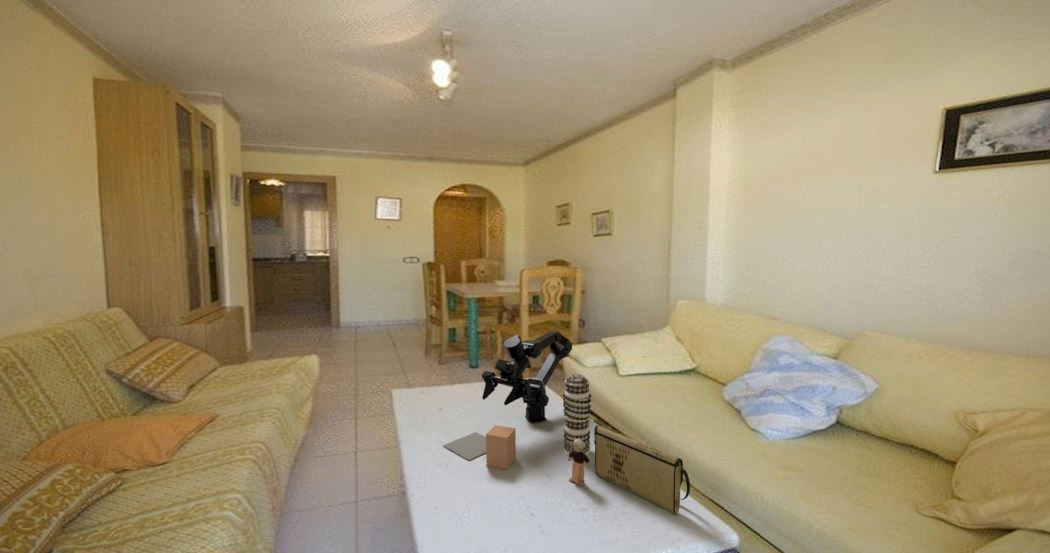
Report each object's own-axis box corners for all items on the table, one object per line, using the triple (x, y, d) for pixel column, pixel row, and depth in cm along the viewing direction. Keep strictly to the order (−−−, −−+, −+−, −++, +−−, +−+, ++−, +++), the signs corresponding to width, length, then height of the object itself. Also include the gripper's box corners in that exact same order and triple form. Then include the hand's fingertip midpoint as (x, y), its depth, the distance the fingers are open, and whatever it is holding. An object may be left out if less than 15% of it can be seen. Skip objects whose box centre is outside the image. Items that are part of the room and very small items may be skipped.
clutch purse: (694, 509, 113) (696, 453, 112) (680, 520, 109) (682, 462, 107) (603, 465, 136) (603, 418, 134) (588, 473, 131) (588, 424, 130)
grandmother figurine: (563, 482, 126) (563, 439, 125) (568, 475, 130) (568, 434, 128) (589, 489, 123) (589, 445, 121) (593, 482, 126) (594, 439, 125)
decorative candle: (590, 459, 139) (590, 382, 137) (561, 456, 141) (561, 380, 138) (591, 446, 148) (592, 373, 146) (564, 443, 150) (564, 371, 147)
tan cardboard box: (495, 455, 142) (495, 425, 141) (515, 458, 140) (515, 428, 139) (486, 465, 136) (485, 434, 135) (507, 469, 133) (507, 437, 132)
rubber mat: (475, 433, 158) (475, 432, 158) (501, 445, 148) (501, 444, 148) (443, 446, 148) (443, 445, 148) (468, 461, 139) (468, 459, 138)
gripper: (488, 348, 159) (464, 379, 148) (531, 355, 148) (508, 390, 138) (498, 370, 164) (475, 402, 154) (541, 378, 154) (519, 413, 144)
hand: (493, 401), depth 147 cm, fingers open, 9 cm apart
